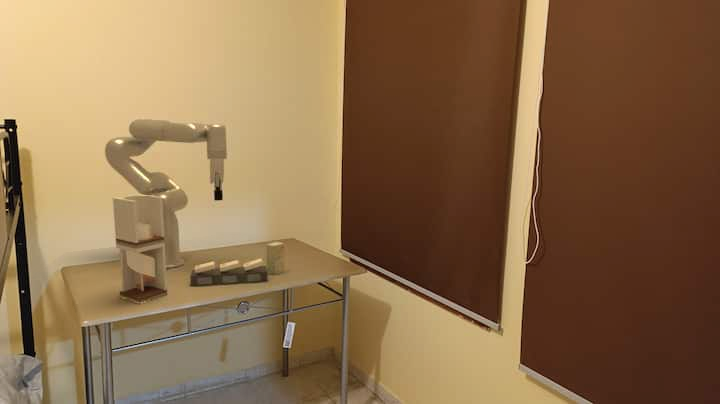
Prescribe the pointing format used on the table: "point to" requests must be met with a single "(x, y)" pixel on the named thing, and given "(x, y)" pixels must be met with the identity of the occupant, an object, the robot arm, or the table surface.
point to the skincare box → (275, 258)
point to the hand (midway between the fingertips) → (218, 200)
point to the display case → (141, 246)
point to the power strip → (229, 276)
